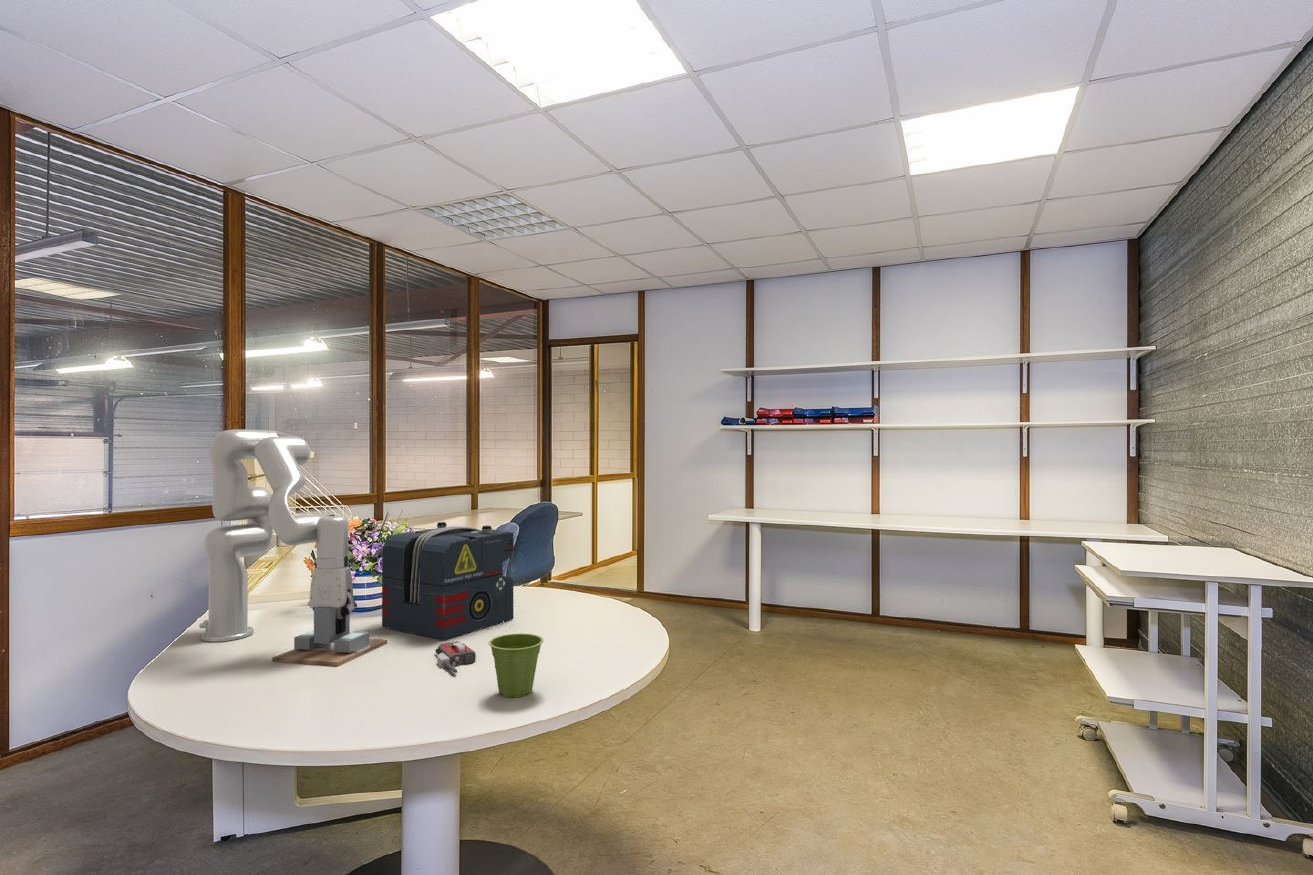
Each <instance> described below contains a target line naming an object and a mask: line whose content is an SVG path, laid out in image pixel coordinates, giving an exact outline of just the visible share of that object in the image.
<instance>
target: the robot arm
mask: <svg viewBox="0 0 1313 875" xmlns="http://www.w3.org/2000/svg"><path fill="white" fill-rule="evenodd" d="M209 448H210V449H209V454H210V462H211V466H212V471H213V478H212V479H213V480H212V503H211V504H212V514H213V517H214V518H215V519H216V520H218V521H222V522H231V521H232V522H234V521H235V522H236V521H243V520H245V521H247V523H243V524H231V525H225V526H219V527H216V528H214V529H212V530H210V531H209V532H208V533H207V534H206V536H205V538H204V551H205V556H206V561H207V568H208V572H207V573H208V619H205V620H204V619H203V622H201V623H199V625H198V627H199V629H205V632H203V633H202V634H201V640H202V641H203V642H208V643H209V642H211V643H212V642H214V643H215V642H227V641H228V642H229V641H235V640H240V639H243V638H246V637H249V636H251V635H253V634H254V633H255V632H254V631H255V630H254V627H251V626H248V610H249V608H248V607H249V606H248V602H249V599H248V596H249V594H248V593H249V589H248V588H249V583H248V582H249V580H248V579H249V578H248V577H249V576H248V575H249V574H248V570H247V568H246V566H245V564H244V563H243V562H242V559H241V558H244V557H249V556H257V555H261V554H264V553H267V551H269V549H270V548H271V546H272V543H273V538H274V533H275V534H276V536H277V538H278V539H279V541H280V542H282V543H283V544H285V545H287V546H299V545H305V544H313V543H316V558H314V559H313V564H316V568H314V569H313V571H312V575H311V582H310V588H309V590H310V591H309V601H308V602H307V606H308V607H309V608H310V609H311V610H312V611H313V612H314V608H316V607H329V608H336V612H337V617H338V619H336V634H341V633H343V632H345V631H346V617H347V616H348V614H349V613H350V614H351V612H352V611H354V610H355V609H356V608H358V604H357V602H356V600H355V599H354V586H353V577H352V571H351V568H350V567H349V519H348V518H347V516H344V515H343V516H342V515H329V514H324V513H317V514H304V515H298V516H297V515H296V516H294V515H293V513H292V511H291V509H290V507H289V505H288V504H289V503H288V497H290V496H292V495H294V494H295V493H297V492H299V491H300V490H301V489H302V488H303V487H304V486H305V484H306V482H307V479H306V477H305V474H304V473H303V471H302V469H301V467H300V466H303V465H305V464H307V463H308V461H309V460H310V458H311V449H310V448H311V447H310V446H309V444H308V442H307V441H305V439H304V438H302V437H300V436H297V435H294V434H289V433H285V432H281V431H278V430H272V429H271V430H269V429H268V430H267V429H243V428H241V429H237V428H236V429H227V430H223V431H220V432H219V433H217V434H215V436H214V437H213V439H212V441H211V443H210V447H209ZM241 460H257V462H258V465H259V466H260V468H261V470H262V472H263V475H264V477H265V478H266V480H267V482H268V484H269V486H270V488H271V490H272V493H271V492H270V491H269V490H268V489H266V488H264V487H262V486H249V472H248V469H247V468H246V465H245V464H244V462H243V461H241ZM347 605H349V606H348V607H347ZM341 608H342V610H341Z"/></svg>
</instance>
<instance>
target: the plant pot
mask: <svg viewBox="0 0 1313 875" xmlns="http://www.w3.org/2000/svg"><path fill="white" fill-rule="evenodd" d="M543 643H544V638H543V637H542V636H540V635H537V634H532V633H522V632H521V633H507V634H502V635H498V636H495V637H493V638H491V639H490V640H488V645H489V647H491V648H490V649H491V654H492V657H493V662H494V668H495V673H496V674H495V675H496V680H497V681H496V682H497V688H498V693H499V694H500V695H502V696H504V697H507V698H519V697H522V696H524V695H529V694H530V693H532V692H533V688H534V683H535V682H534V680H535V676H536V670H537V663H538V657H539V655H540V653H541V652H540V651H541V646H542V644H543Z"/></svg>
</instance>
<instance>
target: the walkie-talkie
mask: <svg viewBox="0 0 1313 875" xmlns="http://www.w3.org/2000/svg"><path fill="white" fill-rule="evenodd" d="M435 653H436V654H437V658H436V660H437V661H436V663H437V664H438V666H439V667H440V668H442V669H443V668H447V669H448V670H449V671H451V672H453V673H454V674H457V673H458V670H457V668H455V667H456V666H460V665H466V664H471V663H472V662H473V663H475V662H476V651H474V650H473V649H472V648H470V647H469V646H468V645H466V644H465V643H464V642H461V641H459V640H455V641H449V642H445V643H441V644H439V645H438V646H437V648H436V649H435Z"/></svg>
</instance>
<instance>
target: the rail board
mask: <svg viewBox="0 0 1313 875" xmlns="http://www.w3.org/2000/svg"><path fill="white" fill-rule="evenodd" d="M370 634H371V633H370V632H367V631H352V632H350V634H348V635H345V636H343V637H340V638H338V639H335V640H334V642H333V643H330V644H321V643H314V629H313V630H310V631H307V632H305V633H302V634H300V635H299V634H298V635H297V636H294V637H293V641H294V644H293V645H294V647H293V649H290V650H288V651H285V652H283V653H280V654H277V655H275V656H273V657H271V661H272V663H273V662H275V663H287V664H288V663H289V664H298V665H301V664H302V665H315V666H329V667H340V666H342V665H344V664H346V663H348V662H351V661H352V660H355V659H356V658H359V657H361V656H363V655H365V654H368V653H371V652H372V651H374V650H376V649H378V648H380V647H383V646H385V645H387V644H388V638H387V639H386V638H384V639H383V638H370V637H371V636H370Z"/></svg>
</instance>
